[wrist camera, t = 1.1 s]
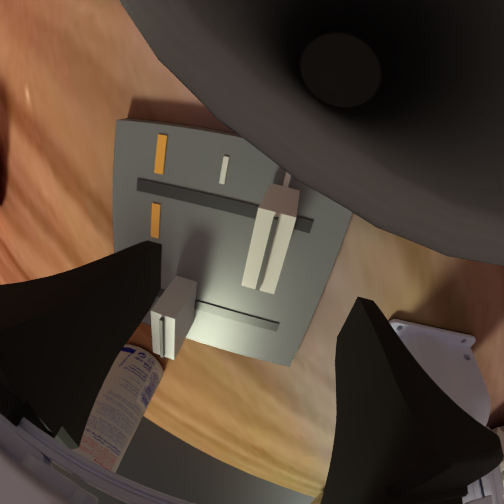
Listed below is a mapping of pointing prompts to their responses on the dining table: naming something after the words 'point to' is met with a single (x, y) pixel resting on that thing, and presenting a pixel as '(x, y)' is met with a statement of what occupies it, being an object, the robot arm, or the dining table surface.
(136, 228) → the console
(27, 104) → the dining table surface
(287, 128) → the cup
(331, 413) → the dining table surface
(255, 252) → the fader tab
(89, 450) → the beverage can
